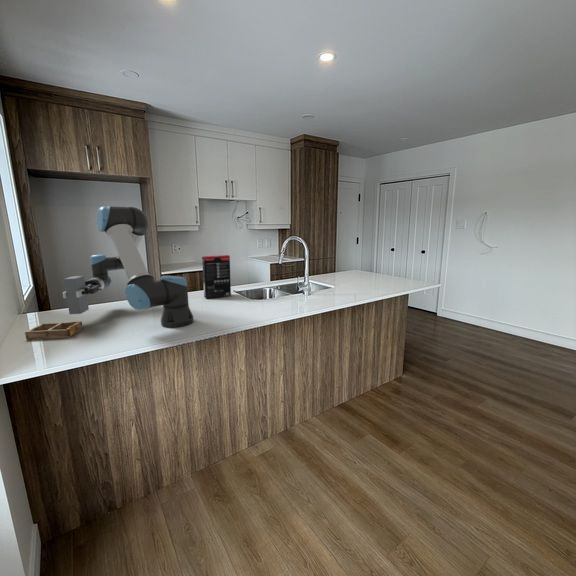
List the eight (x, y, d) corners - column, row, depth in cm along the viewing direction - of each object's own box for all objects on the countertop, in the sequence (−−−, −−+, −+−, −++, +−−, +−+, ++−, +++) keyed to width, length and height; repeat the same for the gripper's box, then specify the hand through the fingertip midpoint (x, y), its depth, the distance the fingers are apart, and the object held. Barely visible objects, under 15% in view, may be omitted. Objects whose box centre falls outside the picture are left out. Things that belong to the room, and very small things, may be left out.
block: (78, 310, 157) (72, 276, 154) (88, 309, 158) (83, 275, 154) (69, 314, 149) (63, 278, 146) (80, 313, 150) (75, 278, 146)
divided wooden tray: (43, 330, 147) (41, 321, 146) (84, 328, 149) (82, 319, 148) (26, 339, 135) (24, 330, 134) (70, 337, 137) (69, 327, 137)
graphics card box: (228, 294, 216) (226, 254, 210) (232, 296, 210) (230, 255, 204) (203, 297, 208) (200, 256, 202) (206, 299, 202) (203, 257, 196)
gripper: (112, 291, 171) (92, 301, 148) (76, 293, 168) (50, 303, 146) (110, 278, 169) (90, 286, 147) (74, 279, 167) (47, 288, 144)
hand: (70, 294), depth 146 cm, fingers closed on block, 5 cm apart
